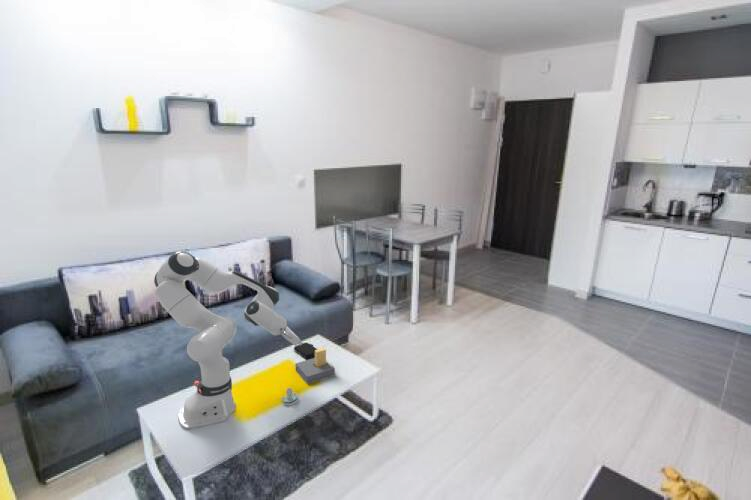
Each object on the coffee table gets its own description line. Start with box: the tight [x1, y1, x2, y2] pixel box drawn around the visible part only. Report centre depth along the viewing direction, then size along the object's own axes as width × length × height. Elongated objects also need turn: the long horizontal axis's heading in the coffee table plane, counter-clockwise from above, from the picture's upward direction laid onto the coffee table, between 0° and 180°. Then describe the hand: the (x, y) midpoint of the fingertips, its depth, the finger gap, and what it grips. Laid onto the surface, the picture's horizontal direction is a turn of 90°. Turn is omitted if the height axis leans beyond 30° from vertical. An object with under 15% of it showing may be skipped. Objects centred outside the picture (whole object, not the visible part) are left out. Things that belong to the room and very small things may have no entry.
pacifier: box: [281, 387, 299, 406], centre depth 179 cm, size 7×6×6 cm
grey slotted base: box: [295, 357, 336, 385], centre depth 202 cm, size 15×14×5 cm
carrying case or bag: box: [293, 342, 318, 360], centre depth 222 cm, size 11×3×15 cm
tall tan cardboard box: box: [314, 347, 327, 368], centre depth 203 cm, size 5×2×12 cm, turn 124°
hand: (297, 339), depth 193 cm, fingers open, 8 cm apart
